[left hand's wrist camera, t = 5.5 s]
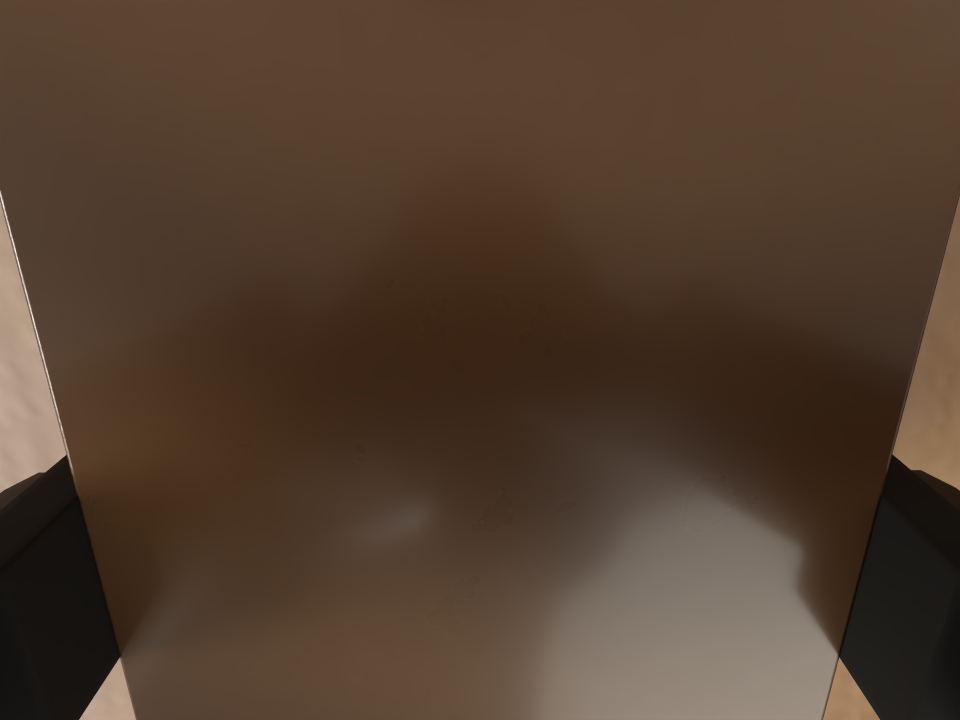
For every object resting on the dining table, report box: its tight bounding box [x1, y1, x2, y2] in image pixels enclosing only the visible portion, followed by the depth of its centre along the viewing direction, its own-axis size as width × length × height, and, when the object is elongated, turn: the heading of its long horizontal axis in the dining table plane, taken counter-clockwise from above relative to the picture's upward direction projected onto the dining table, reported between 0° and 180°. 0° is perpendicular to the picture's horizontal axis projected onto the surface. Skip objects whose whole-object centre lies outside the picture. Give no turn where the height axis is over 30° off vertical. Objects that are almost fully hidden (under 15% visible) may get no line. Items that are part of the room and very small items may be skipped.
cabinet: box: [0, 0, 960, 720], centre depth 12 cm, size 16×10×10 cm, turn 0°
